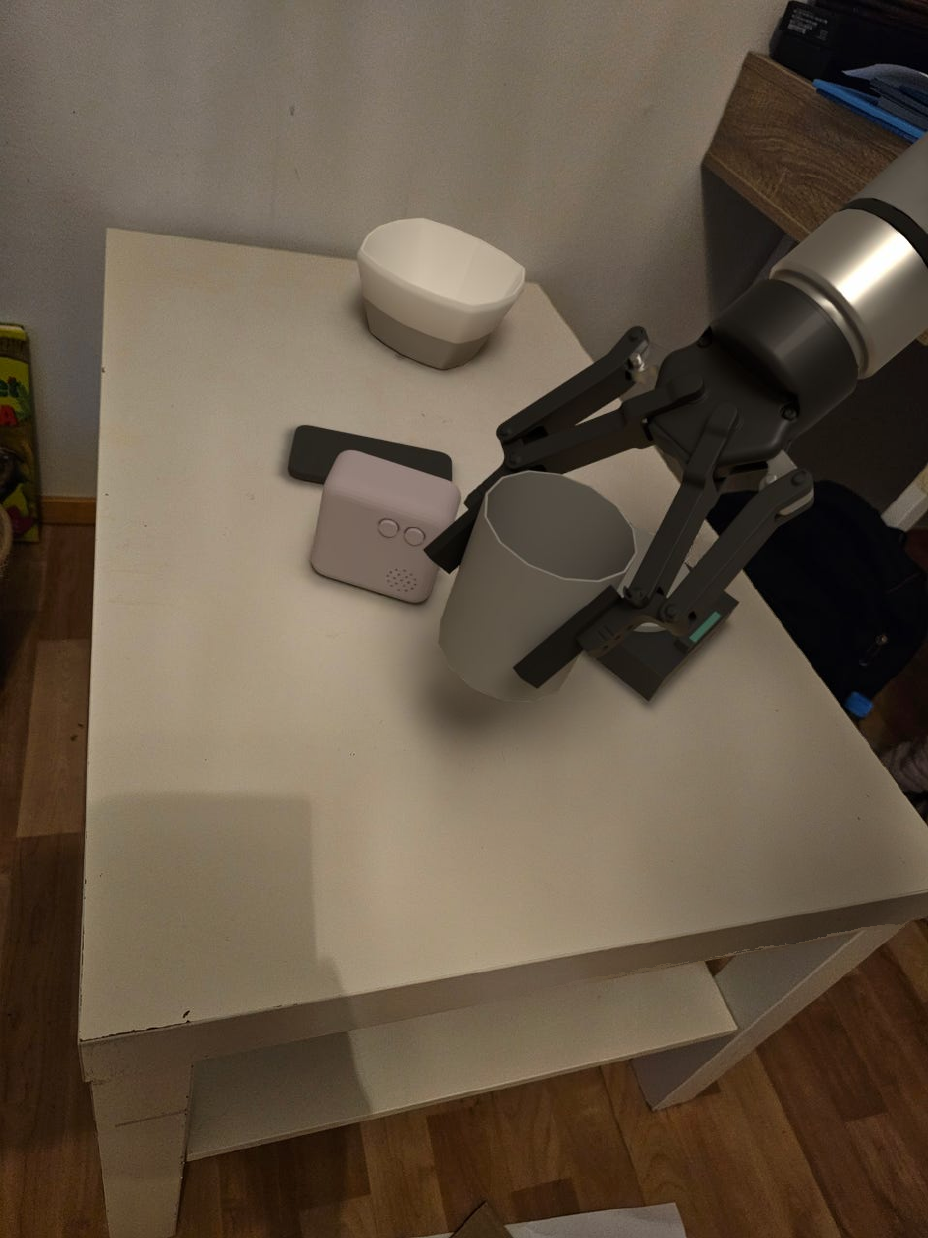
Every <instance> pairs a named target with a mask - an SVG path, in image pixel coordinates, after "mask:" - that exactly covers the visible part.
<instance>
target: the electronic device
mask: <svg viewBox="0 0 928 1238" xmlns="http://www.w3.org/2000/svg"><path fill="white" fill-rule="evenodd" d="M461 500H462V493H461V490H460V488H459V487H458V486H457V485H456V484H455V483H454V482H453V481H452V482H451V481H448V480H446V479H443V478H439V477H436V476H433V475H430V474H427V473H424V472H421V471H418V470H415V469H412V468H409V467H405V466H402V465H399V464H396V463H393V462H390V461H387V460H384V459H381V458H378V457H375V456H371V455H368V454H365V453H362V452H359V451H355V450H347V451H344V452H342V453H340V454H339V455H338V457H337V458H336V461H335V463H334V465H333V467H332V469H331V471H330V473H329V475H328V477H327V479H326V481H325V483H323V486H322V493H321V498H320V504H319V510H318V515H317V520H316V526H315V532H314V536H313V537H314V538H313V544H312V549H311V555H310V560H311V561H310V562H311V565H312V567H313V569H314V570H315V571H316V572H317V573H319V574H320V575H322V576H324V577H326V578H330V579H334V580H337V581H340V582H343V583H346V584H349V585H353V586H356V587H358V588H361V589H362V588H363V589H365V590H369V591H372V592H374V593H378V594H381V595H384V596H388V597H392V598H395V599H397V600H401V601H404V602H407V603H411V604H412V603H413V604H418V603H422V602H424V601H425V600H427V599H428V598H429V597H430V595H431V594H432V591H433V588H434V585H435V583H436V580H437V576H438V574H439V571H440V568H441V567H439V566H438V565H437V564H436V563H434V562H433V561H432V560H431V559H429V557H428V556H427V555H426V553H425V552H424V551H423V549H424V548H425V547H426V546H428V545H429V544H430V543H431V542H432V541H433V540H434V539H435V538H437V537H438V536H439V535H440V534H441V533H442V532H443V531H445V530H446V529H447V528H448V527H449V526H450V525H451V524H452V523H454V522H455V521H456V520H457V519H456V518H457V515H458V511H459V509H460V505H461Z"/></svg>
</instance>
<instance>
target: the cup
mask: <svg viewBox="0 0 928 1238" xmlns="http://www.w3.org/2000/svg"><path fill="white" fill-rule="evenodd" d="M629 522H630V521H629V519H628V518H627V517H626V515H625V514H624V512H623V511H622V509H621V508H620V507H619V506H618V505H617V504H616V503H615V502H613V501H612V500H611V499H609V498H608V497H607V496H605V495H604V494H602V493H601V492H600V491H598V490H597V489H596V488H594V487H593V486H592V485H589V484H586V483H585V482H582V481H578V480H576V479H573V478H571V477H569V476H566V475H565V474H562V475H561V474H556V473H547V472H538V471H524V472H520V473H516V474H512V475H508V476H504V477H501V478H500V479H499V480H498V481H497V482H496V483H495V484H494V485H493V486H492V487H491V488H490V489H489V490H488V491H487V492H486V494H485V497H484V500H483V502H482V505H481V508H480V511H479V513H478V516H477V519H476V522H475V525H474V527H473V530H472V533H471V536H470V539H469V541H468V544H467V547H466V550H465V553H464V555H463V558H462V561H461V564H460V566H458V568H457V569H458V570H457V572H456V575H455V578H454V580H453V583H452V586H451V589H450V592H449V594H448V598H447V600H446V603H445V606H444V607H443V608H444V609H443V611H442V615H441V617H440V621H439V628H438V629H439V630H438V638H437V639H438V640H437V644H438V646H439V648H440V650H441V653H442V654H443V656H444V659H445V661H446V663H447V665H448V667H449V669H450V670H451V671H453V672H454V673H455V674H456V675H457V676H458V677H459V678H461V680H463V682H465V683H466V684H467V685H468V686H469V687H471V689H473V690H475V691H478V692H479V693H482V694H486V695H487V696H490V697H493V698H495V699H498V700H500V701H503V702H528V703H529V702H533V703H535V702H538V701H539V700H542V699H544V698H546V697H548V696H550V695H553V694H554V693H557V692H559V691H560V690H561V688H562V686H563V684H564V683H565V682H566V680H567V679H568V677H569V675H570V673H571V672H572V671H573V669H574V667H575V665H576V664H577V661H578V659H579V658H580V656H581V654H582V652H581V653H580V654H579V655H578V656H576V657H575V658H574V659H573V660H572V661H570V662H569V663H568V664H567V665H566V666H564V667H563V668H562V669H561V670H560V671H558V672H557V673H556V674H555V675H554V676H552V677H551V678H550V679H549V680H548V681H546V682H545V683H544V684H543V685H542V686H541V687H539V688H538V689H536V688H535V687H533V686H532V685H530V684H529V683H527V682H526V681H524V680H523V679H521V678H520V677H519V675H518V674H517V673H516V671H515V670H514V669H513V668H512V667H514V666H515V665H516V664H517V663H518V662H519V661H521V660H522V659H523V658H524V657H525V656H527V655H528V654H529V653H530V652H531V651H532V650H534V649H535V648H536V647H537V646H538V645H540V644H541V643H542V642H543V641H544V640H545V639H547V638H548V637H549V636H550V635H551V634H553V633H554V632H555V631H556V630H557V629H558V628H560V627H561V626H562V625H563V624H564V623H566V622H567V621H568V620H569V619H570V618H571V617H573V616H574V615H575V614H576V613H577V612H579V611H580V610H581V609H582V608H583V607H585V606H587V605H588V604H589V603H590V602H591V601H592V600H594V599H595V598H596V597H597V596H598V595H599V594H600V593H601V592H603V591H604V590H605V589H606V588H607V587H608V586H609V585H612V586H613V588H614V589H615V590H616V591H617V589H618V587H619V585H620V584H621V582H622V580H623V578H624V577H625V575H626V573H627V571H628V570H629V568H630V566H631V564H632V563H633V561H634V559H635V557H636V555H637V554H638V552H637V545H636V537H635V530H634V528H633V527H632V525H631V524H630V523H631V522H630V523H629Z"/></svg>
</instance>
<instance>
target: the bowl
mask: <svg viewBox="0 0 928 1238" xmlns="http://www.w3.org/2000/svg"><path fill="white" fill-rule="evenodd" d="M356 261H357V265H358V266H357V267H358V272H359V278H360V284H361V285H360V286H361V289H362V290H361V291H362V295H363V299H364V305H365V312H366V317H367V323H368V330H369V332H370V333H371V334H372V335H374V337H376V338H377V339H378V340H380V341H381V342H382V343H383V344H385V345H387V346H388V347H390V348H391V349H393V350H394V351H396V352H397V353H398V354H400V355H403V356H405V357H407V358H409V359H412V360H414V361H416V362H419V363H421V364H424V365H427V366H429V367H432V368H435V369H438V370H449V369H452V368H455V367H458V366H461V365H463V364H465V363H467V362H468V361H471V360H472V359H474V357H475V356H476V355H477V353H478V352H479V351H480V350H481V348H482V347H483V346H484V344H485V343H486V341H487V340H488V339H489V337H490V336H492V334H493V332H495V330H496V329H497V327H498V326H499V325H500V323H501V322H502V321H503V319H504V318H505V317H506V316H507V314H508V313H509V311H510V310H511V309H512V307H513V306H515V305H514V304H516V302H517V301H518V299H519V298H520V297H521V295H522V294H523V292H524V291H525V284H526V276H527V275H526V273H527V272H526V268H525V267H524V266H523V265H522V264H520V263H519V262H517V261H516V260H514V259H513V258H512V257H511V256H510V255H508V254H507V253H506V252H504V251H502V250H500V249H498V248H497V247H495V246H493V245H492V244H490V243H489V242H486V241H484V239H483V240H482V239H481V238H479V237H477V236H474V235H472V234H469V233H467V232H466V231H464V230H463V231H462V230H460V229H458V228H455V227H453V226H451V225H448V224H444V223H441V222H438V221H435V220H431V219H428V218H425V217H415V218H405V219H397V220H394V221H391V222H388V223H384V224H381V225H378V226H376V228H374V229H373V230H371V232H369V233H368V234H367V235H366V236H365V237H364V238H363V240H362V242H361V244H360V246H359V249H358V251H357V253H356Z"/></svg>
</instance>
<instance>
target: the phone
mask: <svg viewBox="0 0 928 1238" xmlns="http://www.w3.org/2000/svg"><path fill="white" fill-rule="evenodd" d="M347 450H355V451H359V452H362V453H365V454H368V455H371V456H375V457H378V458H381V459H384V460H387V461H390V462H393V463H396V464H399V465H402V466H405V467H409V468H412V469H415V470H418V471H421V472H424V473H427V474H430V475H433V476H436V477H439V478H443V479H446V480H448V481H451V482H452V483H453V459H452V457H451V456H450V455H449V454H447V453H446V452H443V451H440V450H435V449H430V448H425V447H420V446H415V445H409V444H405V443H400V442H395V441H391V440H385V439H380V438H375V437H371V436H365V435H360V434H355V433H351V432H345V431H339V430H335V429H330V428H325V427H320V426H315V425H311V424H301V425H298V426H297V427H296V428H295V431H294V433H293V439H292V444H291V448H290V454H289V458H288V464H287V470H288V471H287V472H288V473H289V475H290V476H293V477H295V478H296V479H300V480H305V481H311V482H316V483H322V484H325V481H326V479H327V477H328V475H329V473H330V471H331V469H332V467H333V465H334V463H335V461H336V458H337V457H338V455H339V454H340V453H342V452H344V451H347Z"/></svg>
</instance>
